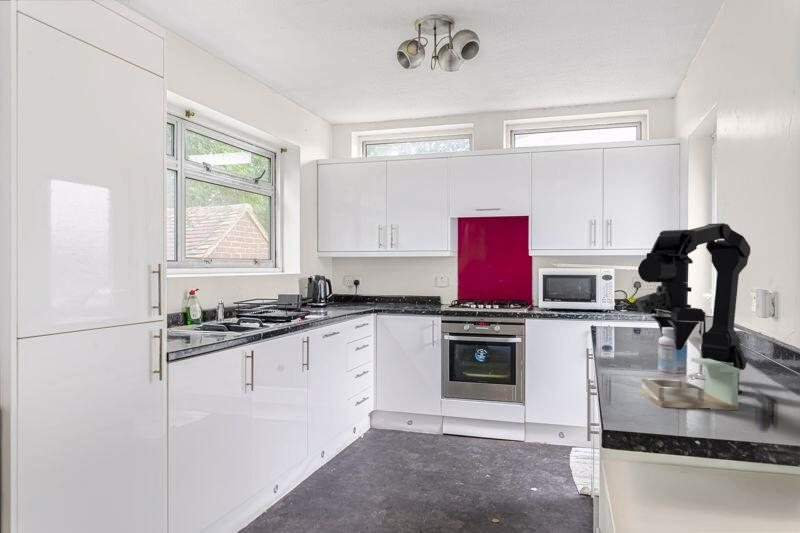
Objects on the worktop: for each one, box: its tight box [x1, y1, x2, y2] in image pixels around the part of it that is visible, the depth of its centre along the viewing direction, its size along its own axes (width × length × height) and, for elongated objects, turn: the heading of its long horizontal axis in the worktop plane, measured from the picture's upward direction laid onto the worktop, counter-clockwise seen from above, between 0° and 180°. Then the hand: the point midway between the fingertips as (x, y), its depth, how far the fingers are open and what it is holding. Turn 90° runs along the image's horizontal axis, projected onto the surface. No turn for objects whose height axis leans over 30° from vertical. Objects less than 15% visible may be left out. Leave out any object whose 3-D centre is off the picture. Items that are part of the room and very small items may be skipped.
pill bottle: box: [657, 327, 688, 378], centre depth 127 cm, size 6×6×11 cm
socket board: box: [638, 377, 740, 411], centre depth 127 cm, size 17×13×4 cm
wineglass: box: [687, 315, 713, 380], centre depth 156 cm, size 8×8×18 cm
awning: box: [691, 357, 741, 406], centre depth 127 cm, size 4×13×9 cm, turn 177°
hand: (672, 347), depth 127 cm, fingers closed on pill bottle, 6 cm apart
